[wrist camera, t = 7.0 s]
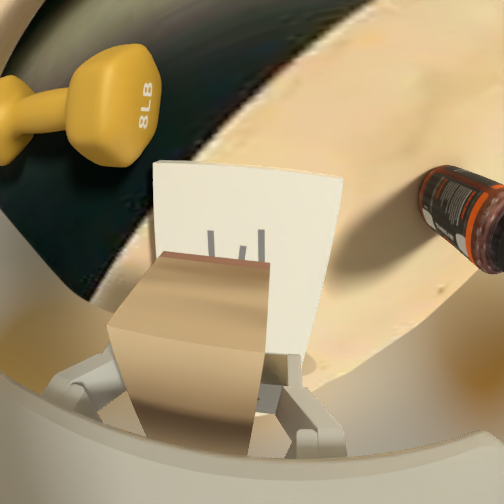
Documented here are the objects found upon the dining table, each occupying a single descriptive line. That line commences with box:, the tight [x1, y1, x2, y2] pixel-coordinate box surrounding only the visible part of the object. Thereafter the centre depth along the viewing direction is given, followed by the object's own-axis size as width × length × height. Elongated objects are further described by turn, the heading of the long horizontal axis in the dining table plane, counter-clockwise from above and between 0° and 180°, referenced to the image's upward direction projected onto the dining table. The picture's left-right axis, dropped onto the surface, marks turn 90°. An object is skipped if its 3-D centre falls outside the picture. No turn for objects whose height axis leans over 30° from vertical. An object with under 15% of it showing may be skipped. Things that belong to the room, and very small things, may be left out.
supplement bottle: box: [419, 165, 504, 274], centre depth 15 cm, size 6×6×11 cm
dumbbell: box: [0, 44, 161, 167], centre depth 16 cm, size 19×9×8 cm, turn 81°
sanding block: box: [106, 251, 270, 456], centre depth 10 cm, size 7×4×4 cm, turn 175°
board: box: [153, 160, 344, 366], centre depth 24 cm, size 20×14×2 cm
